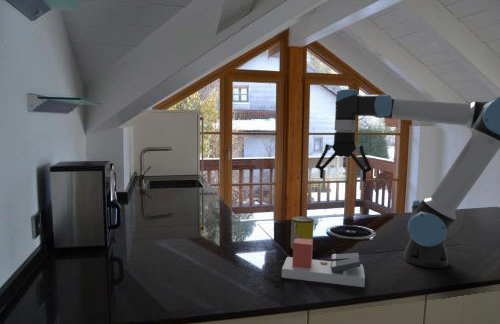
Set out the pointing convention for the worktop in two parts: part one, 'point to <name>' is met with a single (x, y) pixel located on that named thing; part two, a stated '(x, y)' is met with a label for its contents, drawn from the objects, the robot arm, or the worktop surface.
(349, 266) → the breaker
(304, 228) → the beverage can
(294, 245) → the red rectangular block
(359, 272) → the panel
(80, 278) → the worktop surface
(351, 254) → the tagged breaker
